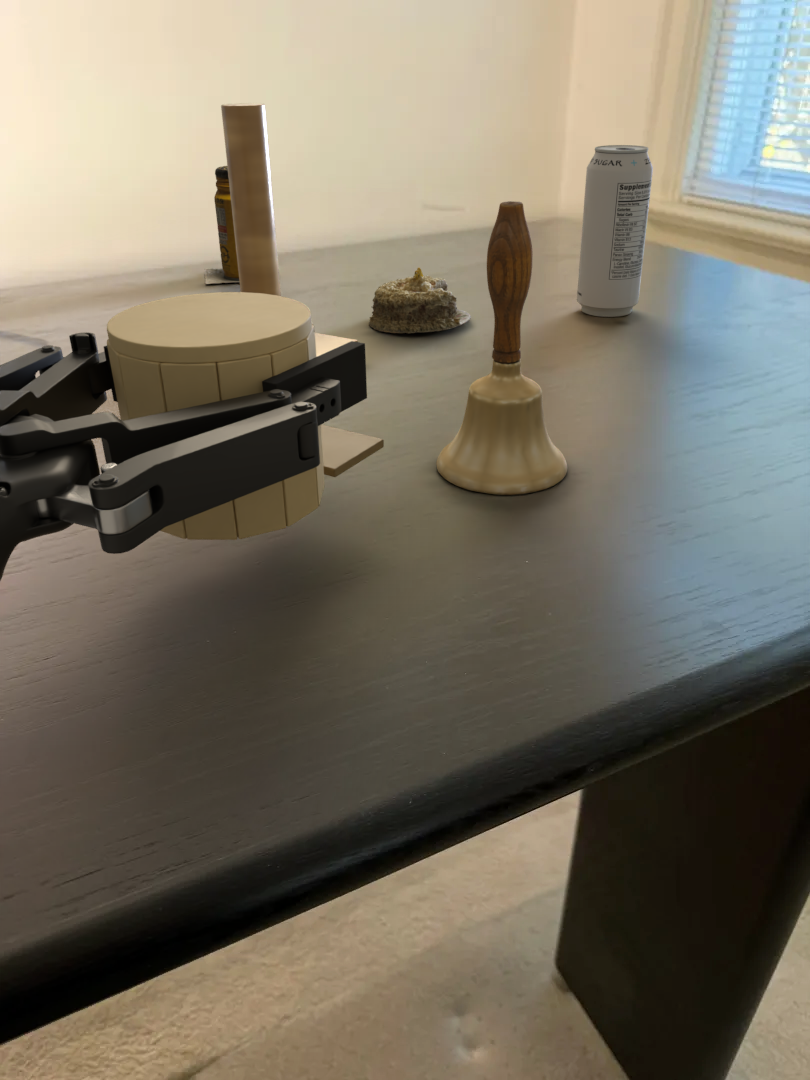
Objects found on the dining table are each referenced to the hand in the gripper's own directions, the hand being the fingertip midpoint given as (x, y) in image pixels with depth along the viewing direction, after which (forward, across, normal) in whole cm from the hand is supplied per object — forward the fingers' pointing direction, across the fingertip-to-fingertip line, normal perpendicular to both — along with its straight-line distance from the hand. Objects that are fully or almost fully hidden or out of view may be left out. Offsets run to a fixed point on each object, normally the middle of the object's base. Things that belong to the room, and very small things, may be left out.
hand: (280, 354), depth 45 cm
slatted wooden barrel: (-2, 0, -6) cm, 6 cm away
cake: (+39, -16, -10) cm, 44 cm away
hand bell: (+13, +6, -10) cm, 18 cm away
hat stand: (+21, -20, -10) cm, 31 cm away
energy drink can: (+52, -2, -10) cm, 53 cm away
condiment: (+46, -45, -11) cm, 65 cm away
